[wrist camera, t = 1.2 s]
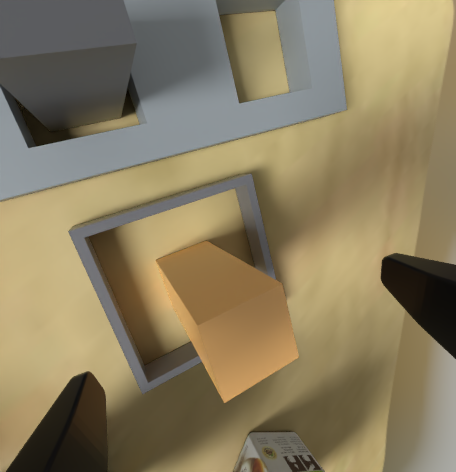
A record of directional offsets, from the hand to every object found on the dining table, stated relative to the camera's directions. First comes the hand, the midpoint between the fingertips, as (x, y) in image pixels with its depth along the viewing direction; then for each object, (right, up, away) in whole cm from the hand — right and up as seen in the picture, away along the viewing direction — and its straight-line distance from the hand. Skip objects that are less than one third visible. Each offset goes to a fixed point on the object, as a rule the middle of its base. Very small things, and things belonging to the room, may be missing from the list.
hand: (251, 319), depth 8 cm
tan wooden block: (-4, 0, +13) cm, 13 cm away
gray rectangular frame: (-4, +13, +10) cm, 17 cm away
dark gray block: (-10, +11, +8) cm, 17 cm away
